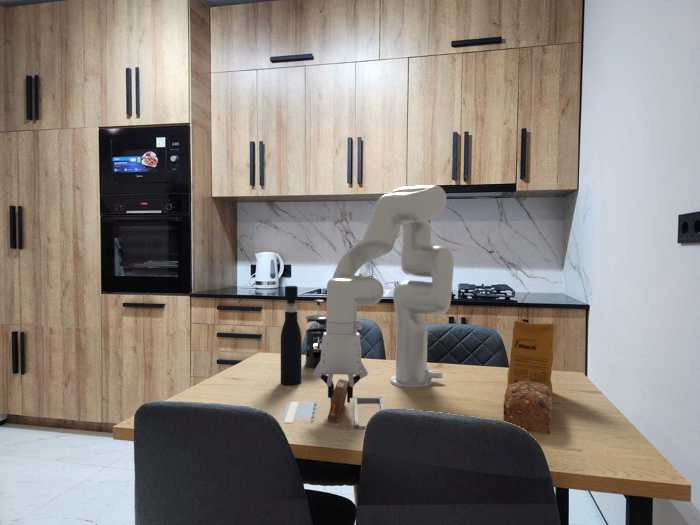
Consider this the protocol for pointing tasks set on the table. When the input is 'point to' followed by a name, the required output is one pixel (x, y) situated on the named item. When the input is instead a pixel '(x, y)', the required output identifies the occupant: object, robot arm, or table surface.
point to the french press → (312, 356)
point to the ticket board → (298, 411)
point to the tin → (338, 400)
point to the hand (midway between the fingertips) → (340, 400)
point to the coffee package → (531, 353)
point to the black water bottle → (291, 342)
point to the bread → (529, 406)
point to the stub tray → (365, 399)
